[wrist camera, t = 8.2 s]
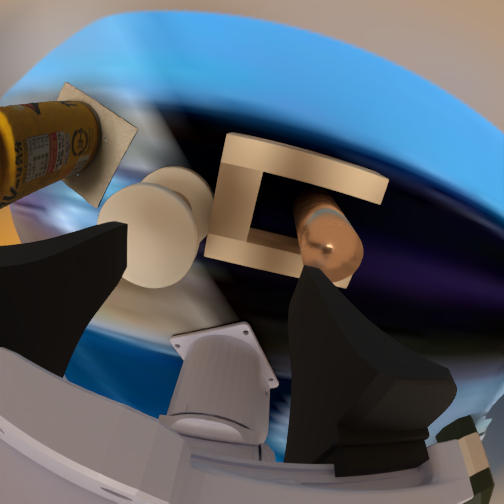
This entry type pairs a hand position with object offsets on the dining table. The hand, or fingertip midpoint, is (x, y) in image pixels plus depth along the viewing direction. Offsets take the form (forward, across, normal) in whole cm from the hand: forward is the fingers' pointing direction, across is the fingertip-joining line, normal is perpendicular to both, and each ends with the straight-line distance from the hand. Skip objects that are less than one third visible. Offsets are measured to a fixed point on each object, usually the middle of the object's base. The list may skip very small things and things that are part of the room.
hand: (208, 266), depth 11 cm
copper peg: (+9, -5, -1) cm, 11 cm away
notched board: (+9, -4, 0) cm, 10 cm away
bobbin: (+9, +4, +2) cm, 10 cm away
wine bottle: (+10, -47, +30) cm, 57 cm away
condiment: (+10, +13, -2) cm, 17 cm away
